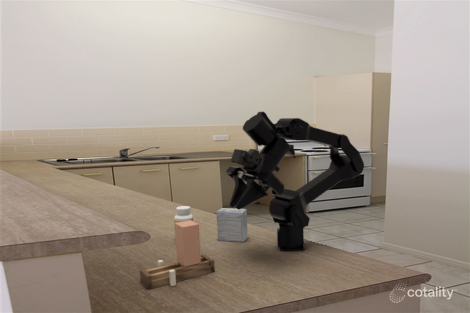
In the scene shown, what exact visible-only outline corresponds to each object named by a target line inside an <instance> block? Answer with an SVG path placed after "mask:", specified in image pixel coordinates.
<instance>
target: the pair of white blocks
mask: <svg viewBox="0 0 470 313" xmlns="http://www.w3.org/2000/svg"><path fill="white" fill-rule="evenodd" d="M161 266H165V265H164V260H163V259H161V260H160V259H159V260H157V267H161ZM169 277H170V284H169V286H171V287H173V286H177V282H176V276H175V270H174V269H173V270H169Z"/></svg>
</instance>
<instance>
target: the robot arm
mask: <svg viewBox="0 0 470 313" xmlns="http://www.w3.org/2000/svg"><path fill="white" fill-rule="evenodd" d="M242 130H243V132H245V133H246V135H247V136H248V138H250V139H251V140H252V142H253V143H255V145H256V146H258V147H262V146H263V148H262V149H261V150H260V151H259V150H258V149H255V148H254V149H253V148H250V149H249V150H248V151H247V150H243V149H237V148H235V149H234V150H233V153H232V154H231V155H232V156H231V158H230V162H232V163H236V164H238V165H241V166H242V167H240V166H235V165H234V166H233V165H232V166H228V168H227V169H226V171H225V174H226V175H227V176H229V177H230V179H231V180H233V181H234V189H233V193H232V195H231V198H230V202H229V206H230V207H231V208H236V209H238V210H239V209H244V208H245V207H247V206H248V205H250V204H252V203H254V202H256V201H258V200H259V199H262V198H263V197H268V196H269V194H268V191H269V189H271V194H272V195H273V198H272V199H271V200H270V201H269V207H268V211H269V214H270V216H271V217H272V219H273V220H272V221H273V222H274V223H275V224H278V228H277V229H276V244H277V247H279V251H305V250H306V246H305V242H304V241H305V239H304V229H305V227H308V226H309V224H310V219H311V218H310V217H309V216H308V215H307V214H306V211H307V210H306V209H307V207H308V205H309V204H310V203H312V202H313V201H315V200H316V199H317V198H319V197H320V196H322V195H323V194H324V193H326V192H327V191H329V190H330V189H331V188H333V187H335V186H336V185H337V184H338V183H340V182H342V181H344V180H351V179H354V178H356V177H359V176H360V175H361V174H362V173H363V172H364V168H365V162H364V160H363V158H362V156H361V153H360V152H359V150H358V149H357V148H356V147H355V146H354V145H353V144H352V143H351V142H350V139H349V137H348V136H347V135H345V134H344V133H342V134H341V133H336V132H332V131H329V130H326V129H325V130H324V129H321V128H317V127H314V126H312V125H310V123H308V122H307V121H305V120H303V119H302V118H299V117H293V118H292V117H288V118H287V117H286V118H285V117H282V118H279V120H277V122H276V123H274V122H272V120H271V119H270V117H269V116H268V115H267V113H266V112H265V111H258V112H257V113H256V114H254V115H252V116H251V117H250V118H249V119H248V120H246V121H245V122H244V123H243V126H242ZM288 141H295V142H296V141H300V142H301V141H305V142H308V143H309V142H310V143H313V144H318V145H322V146H327V147H328V148H329V158H330V161H331V162H330V163H329V167H328V168H326V170H324V171H323V172H321V173H320V174H318V175H317V176H316V177H314V178H313V179H311V180H310V181H308V182H306V183H305V184H304V185H302V186H301V187H299V188H298V189H297V190H293V189H288V188H287V189H286V188H285V184H284V183H283V182H282V181H281V180H280V179H279V178H278V177H277V176H276V175H275V172H276V173H278V172H279V171H280V167H278V166H280V163H281V162H282V160H284V158H285V157H286V156H287V155H288V156H295V155H296V151H295V147H294V146H295V145H294V144H290V143H289V142H288ZM339 149H341V152H343V154H340V152H339ZM245 171H246V172H245Z"/></svg>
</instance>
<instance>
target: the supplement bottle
mask: <svg viewBox="0 0 470 313" xmlns="http://www.w3.org/2000/svg"><path fill="white" fill-rule="evenodd" d="M175 210H176V211H175V212H176V213H175V216H174V218H173V220H174V221H173V222H174V225H175V223H178V222H183V221H189V220H191V221H193V222H194V216H193V214H192V213H191V206H188V205H181V206H177V207H176V209H175ZM174 240H175V242H176V236H175V235H174Z"/></svg>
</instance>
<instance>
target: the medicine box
mask: <svg viewBox="0 0 470 313" xmlns="http://www.w3.org/2000/svg"><path fill="white" fill-rule="evenodd" d="M247 212H248V210H247V208H241V209H239V210H238V209H237V208H236V207H231V208H230V207H222V208H220V209H218V210H217V211H216V228H217V230H216V231H217V241H225V242H226V241H227V242H238V243H240V242H241V243H244V242H245V241H246V240H247V239H248V238H249V232H248V231H249V230H248V229H249V228H248V213H247Z"/></svg>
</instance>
